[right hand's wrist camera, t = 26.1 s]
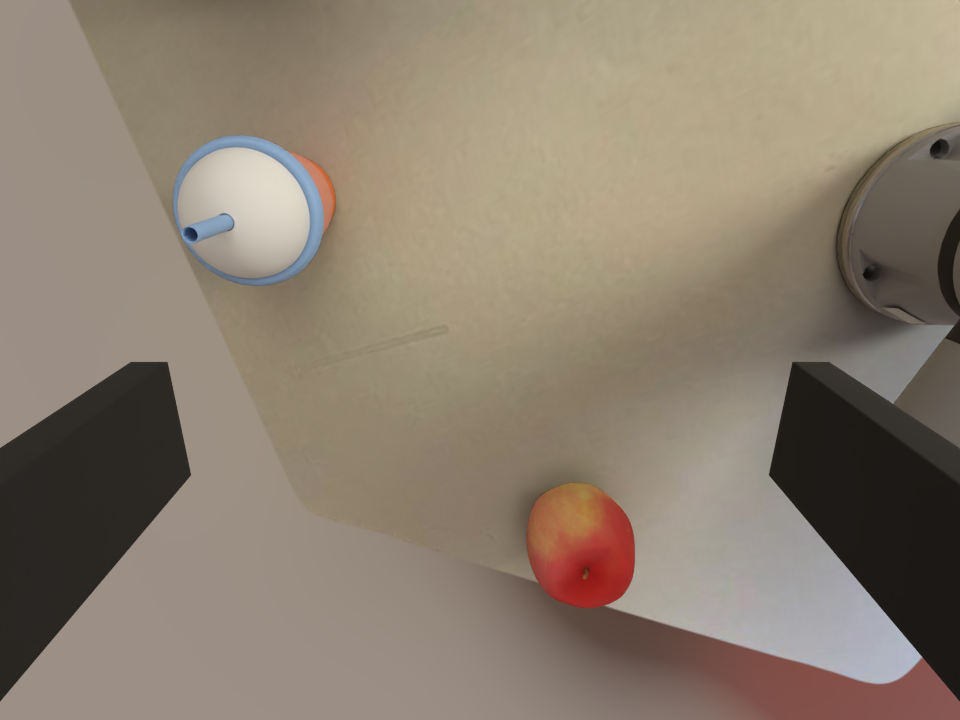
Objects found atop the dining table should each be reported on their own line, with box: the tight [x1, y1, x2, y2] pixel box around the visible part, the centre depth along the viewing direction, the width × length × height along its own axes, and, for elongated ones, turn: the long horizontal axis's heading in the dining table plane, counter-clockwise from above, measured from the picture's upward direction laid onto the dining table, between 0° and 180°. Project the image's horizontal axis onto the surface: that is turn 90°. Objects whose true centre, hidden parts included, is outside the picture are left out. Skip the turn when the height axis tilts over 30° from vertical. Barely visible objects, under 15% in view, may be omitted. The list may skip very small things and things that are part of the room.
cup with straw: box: [173, 135, 336, 286], centre depth 37 cm, size 9×9×18 cm
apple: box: [527, 483, 635, 608], centre depth 51 cm, size 10×10×10 cm
